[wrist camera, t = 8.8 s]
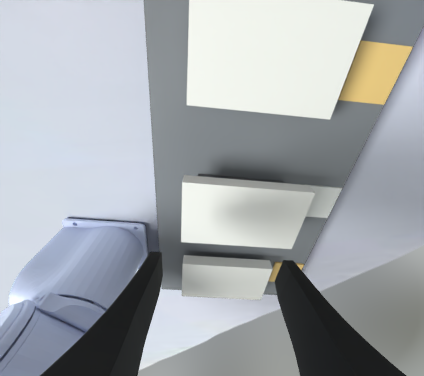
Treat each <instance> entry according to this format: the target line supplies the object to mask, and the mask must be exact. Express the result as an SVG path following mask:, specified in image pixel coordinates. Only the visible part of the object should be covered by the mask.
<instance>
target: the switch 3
mask: <svg viewBox="0 0 424 376" xmlns="http://www.w3.org/2000/svg"><path fill="white" fill-rule="evenodd" d="M272 270H273V269H272V266H271V262H270V260H256V259H240V258H223V257H207V256H190V255H184V258H183V265H182V296H188V297H208V298H229V299H249V300H261V298H262V296H263V293H264V291H265V288H266V285H267V283H268V280H269V278H270V275H271V272H272Z"/></svg>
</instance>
